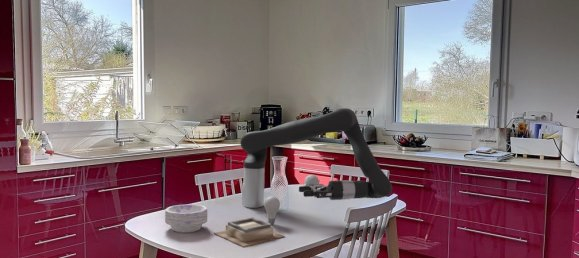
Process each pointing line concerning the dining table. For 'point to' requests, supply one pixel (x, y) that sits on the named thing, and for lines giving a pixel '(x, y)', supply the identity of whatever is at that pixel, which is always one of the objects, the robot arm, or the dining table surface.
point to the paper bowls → (186, 217)
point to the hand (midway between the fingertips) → (301, 191)
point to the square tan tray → (249, 232)
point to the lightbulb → (271, 208)
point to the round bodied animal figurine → (311, 180)
